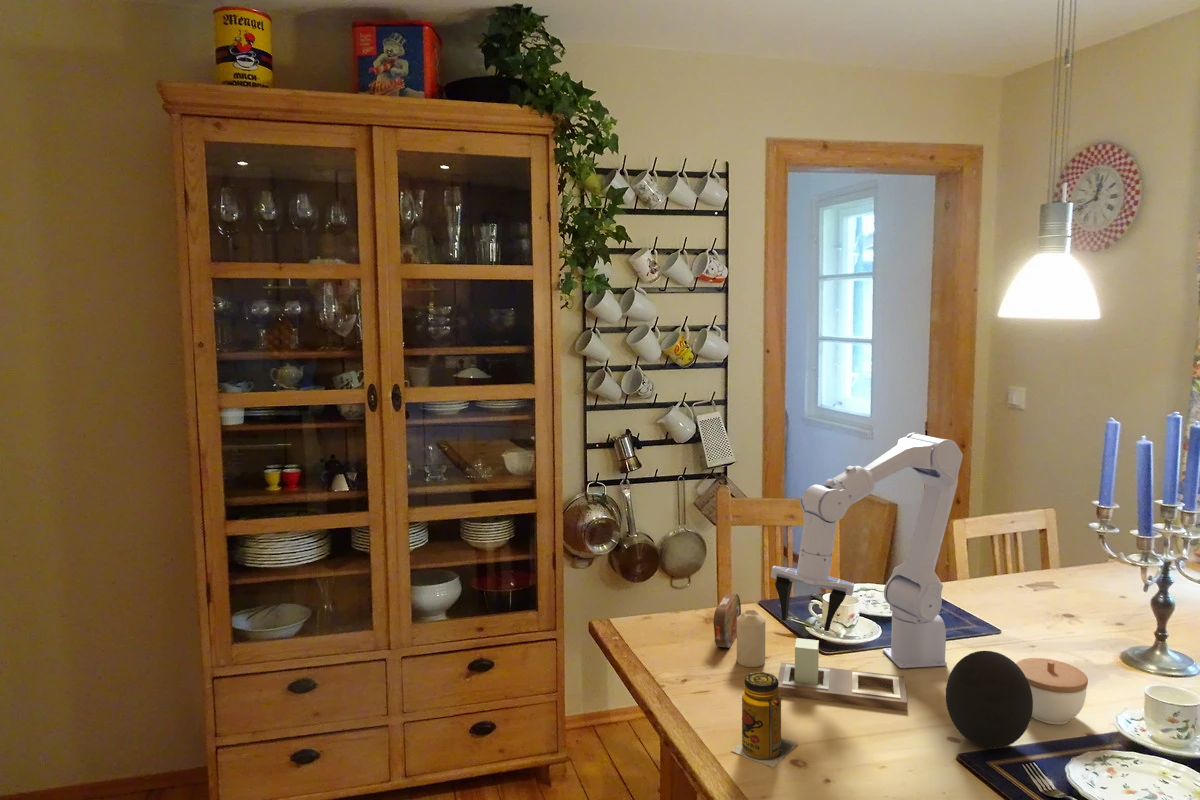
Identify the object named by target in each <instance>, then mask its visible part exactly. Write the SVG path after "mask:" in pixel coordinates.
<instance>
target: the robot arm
mask: <svg viewBox="0 0 1200 800" xmlns="http://www.w3.org/2000/svg"><path fill="white" fill-rule="evenodd" d="M963 458H964V454H963V453H962V450H961V449H960V447H959V446H958V444H957V443H956V441H954V440H952V439H947V438H945V439H944V438H939V437H933V436H929V435H925V434H921V433H918V432H911V433H908V434H906V436H904V437H902V438H901V437H900V438H899V439H898V440H897V444H896V445H895V446H893V447H891V449H889V450H888V451H886V452H885V453H883V454H882V455H879V457H877V458H876V459H875V460H873V461H872V462H870V463H869V464H867V465H865V466H864V467H863V466H860V465H848V466H847V467H845V471H843V472H841V473H840V474H838V475H836V476H835V477H833V478H827V479H826V480H825V482H824V483H823V484H813V485H810V486H809V487H808V488H807V489H805V491H804V492H803V494H802V497H800V498H799V505H800V509H801V510H802V520H803V525H802V532H801V539H800V546H799V547H800V548H799V553H798V554H799V555H798V561H797V568H792V567H791V568H790V567H784V566H779V565H772V566H771V573H770V578H771V579H775V582H774V585H775V589H776V593H777V595H778V599H779V602H780V610H781V620H782V621H787V619H788V617H789V608H790V607H789V606H790V598H791V592H792V587H793V583H797V584H802V585H806V586H810V587H814V588H818V589H824V590H828V591H831V592H830V593H829V599H828V607H827V608H828V609H827V615H826V619H825V623H824V629H823V630H824V631H825V632H829V631H830V628H831V624H832V621H833V619H834V616H835V614H836V613H837V611H838V609H839V608H840V606H841V604H842V603H843V602H844V601H845V598H846V596H850V597H852V596H853V593H854V588H855V583H854V582H850V581H847V580H844V579H840V578H836V577H833V576H830V572H831V568H832V567H831V566H832V560H833V559H832V558H833V552H834V544H835V538H836V532H837V525H838V521H840V520H842V519H843V517H845V515H846V512H847V510H848V509H849V508H850V507H851V506H852V505H855V503H858V501H860V500H862V499H864V498H866V497H867V496H868V495H870V494H872V493H873V492H874V489H875V486H876V485H875V484H876V483H879V482H880V481H882V480H885V479H887V478H888V477H891V476H892V475H895V474H897V473H898V472H900V471H903V470H904V469H907V468H909V467H910V468H911V469H912V470H913V471H914V472H916V473H917V474H918V475H919V477H920V479H921V480H922V482H923V483H924V490H923V493H922V498H921V501H920V504H919V507H918V511H917V516H916V520H915V523H914V527H913V531H912V535H911V538H910V541H909V545H908V550H907V553H906V557H905V561H904V562H903V563H901V564H900V565H899V564H898V565H897V566H895V567H893V569H892V574H891V576H890V578H889V579H888V581H886V583H885V586H884V589H883V597H884V601H885V602H886V603H887V604H888V605H889V611H890V612H891V635H890V636H891V641H890V642H891V645H890V647H885V648H882V652H883V653H885V655H886V656H888V658H889V659H890V660H891V661H892V662H893V663H894V664H895V665H896V666H897V667H898V668H899V669H911V668H913V669H914V668H926V667H927V668H928V667H929V668H930V667H944V666H948V662H947V661H946V647H947V646H946V645H947V643H946V642H947V630H946V629H947V628H946V625H945V622H944V620H943V618H942V617H941V616H940V615H939V614H940V612H941V608H942V605H943V603H942V602H943V601H942V593H943V592H942V591H943V588H944V586H943V583H942V581H941V580H940V578H939V577H938V575H937V573H936V571H935V570H936V565H937V562H938V560H939V559H938V558H939V555H940V551H941V548H942V544H943V539H944V537H945V536H944V535H945V533H946V528H947V526H948V523H949V522H948V521H949V517H950V514H951V511H952V506H953V502H954V500H955V495H956V491H957V488H958V484H959V472H960V468H961V466H962V461H963Z"/></svg>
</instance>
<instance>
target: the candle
mask: <svg viewBox="0 0 1200 800" xmlns="http://www.w3.org/2000/svg"><path fill="white" fill-rule="evenodd" d="M736 661H737V663H738V664H739V665H740V666H743V667H746V668H759V667H762V666H763V665H765V664H766V618H764V617H763V616H762V615H761V613H759V612H758V611H756V610H754V609H752V610H751V609H750V610H748V609H747V610H745V611H744V612H741V615H740V616H739V617H738V618H737V636H736Z"/></svg>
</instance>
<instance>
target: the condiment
mask: <svg viewBox="0 0 1200 800" xmlns="http://www.w3.org/2000/svg"><path fill="white" fill-rule="evenodd" d="M743 681H744V685H743V693H742V694H741V729H742V730H741V737H742V738H741V741H742V742H740V743H739V744H738V745H737V746H735V748H733V749H732V750H730V751H731V752H733V753H736V754H737V755H740V756H742V757H745V758H747V759H749V760H752V761H755V762H757V763H760V764H765V765H766V766H769V767H772V768H773V767H775V766H776V765H777V764H778V763H779V762H781V760H783V759H784V758H785V756H786V755H787V754H788V753H789V752H790V751H791V750H793V749H794V748H795V747H796V745H797V744H798V743H799V742H797V741H793V740H791V739H788V738H784V737H782V697H781V696H782V695H780V694H779V688H778V685H779V682H778V677H776V676H775V675H773V674H771V673H769V672H766V671H765V672H764V671H755V672H751V673H748V674H746V675H745V676H744V680H743Z"/></svg>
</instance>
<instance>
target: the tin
mask: <svg viewBox="0 0 1200 800" xmlns="http://www.w3.org/2000/svg"><path fill="white" fill-rule="evenodd" d="M741 607H742V606H741V600H740V595H739V594H738V593H735V594H734V593H731V594H729V593H725V594H724V595H723V597H722V598H721V600H720V601H719V603H718V605H717V606H716V608H715V610H714V614H713V624H712V625H713V631H714V632H713V634H714V644H715V646H716V647H719V648H727V649H730V648H731V647H732V645H733V644H734V642H735V640H736V639H737V618H738V617H739V616H740V615H741V614H742V608H741Z"/></svg>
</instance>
